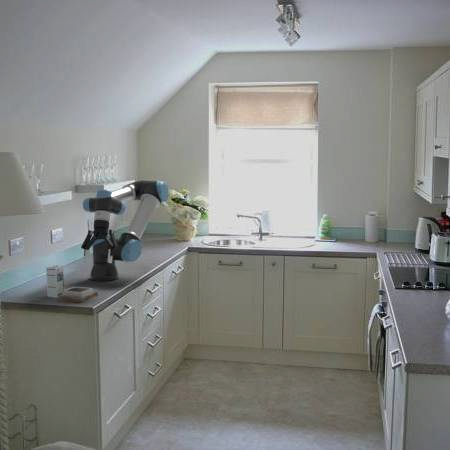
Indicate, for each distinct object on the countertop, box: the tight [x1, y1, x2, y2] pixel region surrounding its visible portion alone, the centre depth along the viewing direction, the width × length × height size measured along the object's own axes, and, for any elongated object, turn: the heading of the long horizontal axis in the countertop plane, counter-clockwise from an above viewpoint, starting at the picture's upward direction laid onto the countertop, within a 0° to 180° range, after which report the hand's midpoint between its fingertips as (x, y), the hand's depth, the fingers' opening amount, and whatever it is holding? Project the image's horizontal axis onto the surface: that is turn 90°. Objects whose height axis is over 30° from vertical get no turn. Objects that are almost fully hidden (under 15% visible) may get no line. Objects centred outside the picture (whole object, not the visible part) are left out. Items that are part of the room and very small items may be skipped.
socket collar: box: [62, 286, 94, 298], centre depth 300 cm, size 10×10×2 cm
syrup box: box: [45, 264, 65, 299], centre depth 303 cm, size 6×6×14 cm
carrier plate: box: [56, 291, 98, 304], centre depth 300 cm, size 16×12×2 cm
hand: (98, 263), depth 312 cm, fingers open, 13 cm apart
